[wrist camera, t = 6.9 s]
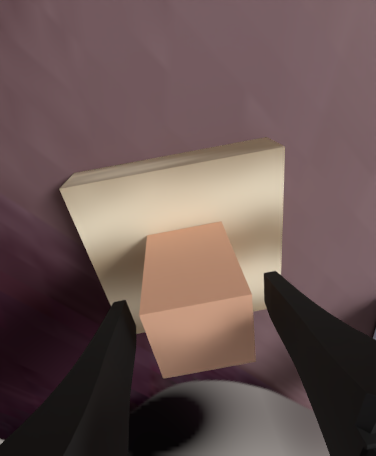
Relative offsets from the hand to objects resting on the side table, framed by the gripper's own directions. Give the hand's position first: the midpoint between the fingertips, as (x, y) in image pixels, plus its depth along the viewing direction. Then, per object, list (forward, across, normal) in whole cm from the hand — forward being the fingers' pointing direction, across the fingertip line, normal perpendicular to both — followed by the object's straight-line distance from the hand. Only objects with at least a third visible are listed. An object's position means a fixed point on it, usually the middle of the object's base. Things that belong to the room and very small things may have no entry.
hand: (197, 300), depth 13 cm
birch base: (+7, 0, 0) cm, 7 cm away
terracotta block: (+4, 0, 0) cm, 4 cm away
